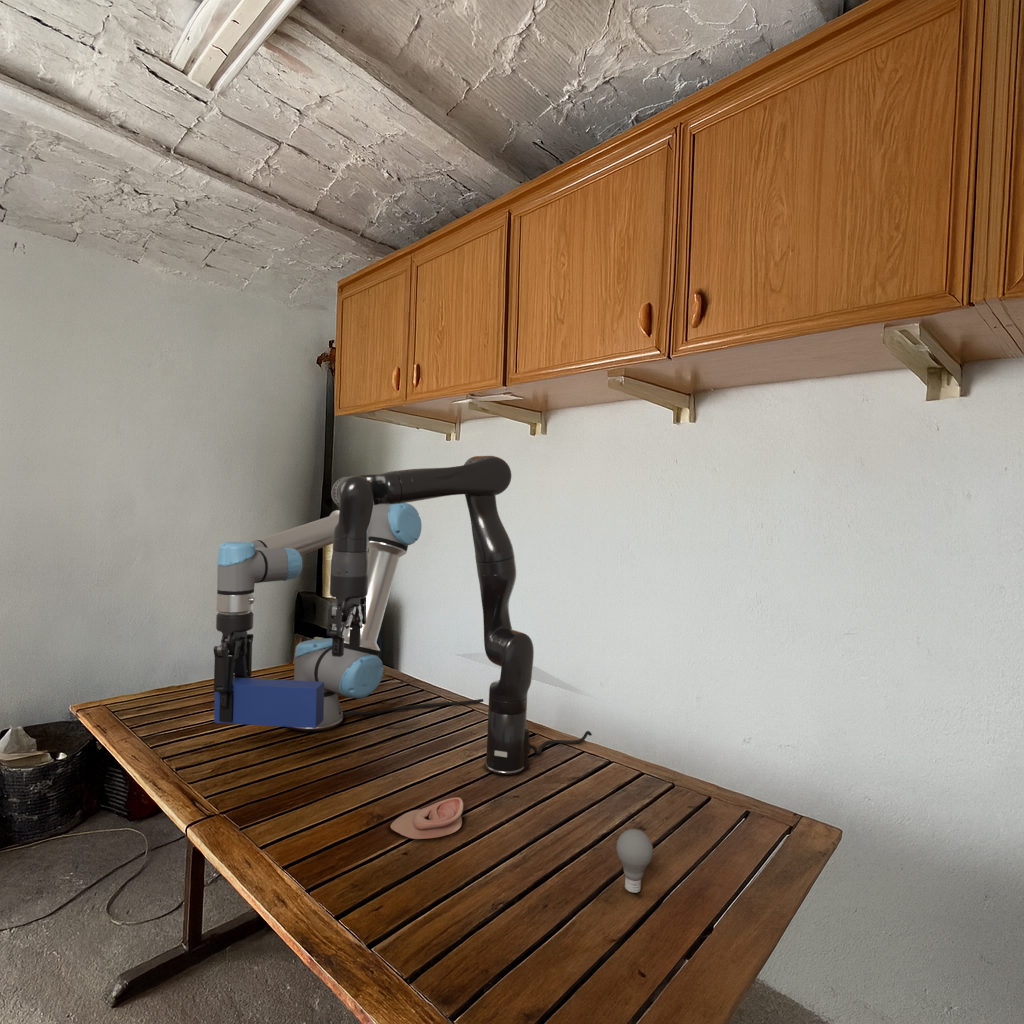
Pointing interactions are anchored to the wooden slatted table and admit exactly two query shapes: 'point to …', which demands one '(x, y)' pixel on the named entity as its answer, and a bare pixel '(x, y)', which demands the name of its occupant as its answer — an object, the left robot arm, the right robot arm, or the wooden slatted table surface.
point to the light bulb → (634, 857)
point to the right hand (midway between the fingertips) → (346, 651)
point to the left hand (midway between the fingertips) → (232, 715)
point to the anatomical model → (431, 820)
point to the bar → (275, 702)
